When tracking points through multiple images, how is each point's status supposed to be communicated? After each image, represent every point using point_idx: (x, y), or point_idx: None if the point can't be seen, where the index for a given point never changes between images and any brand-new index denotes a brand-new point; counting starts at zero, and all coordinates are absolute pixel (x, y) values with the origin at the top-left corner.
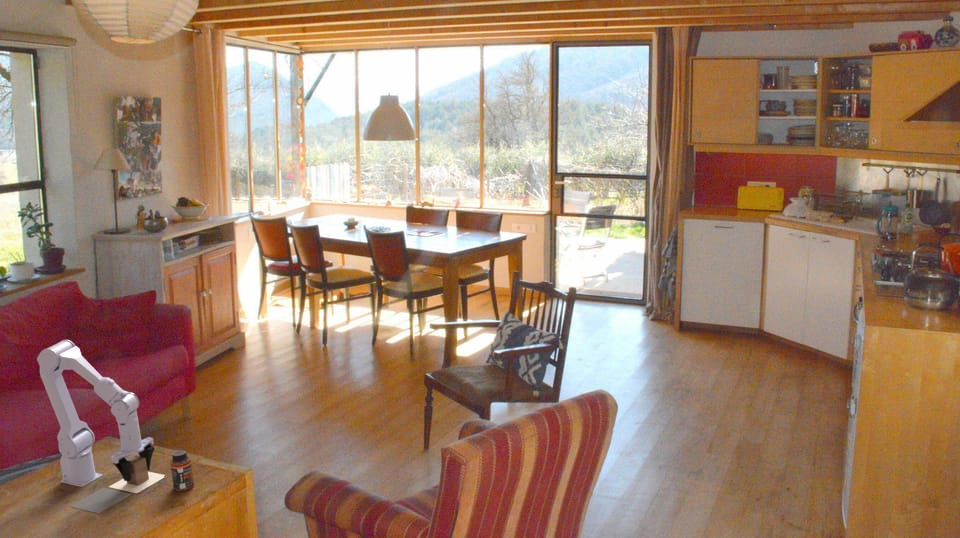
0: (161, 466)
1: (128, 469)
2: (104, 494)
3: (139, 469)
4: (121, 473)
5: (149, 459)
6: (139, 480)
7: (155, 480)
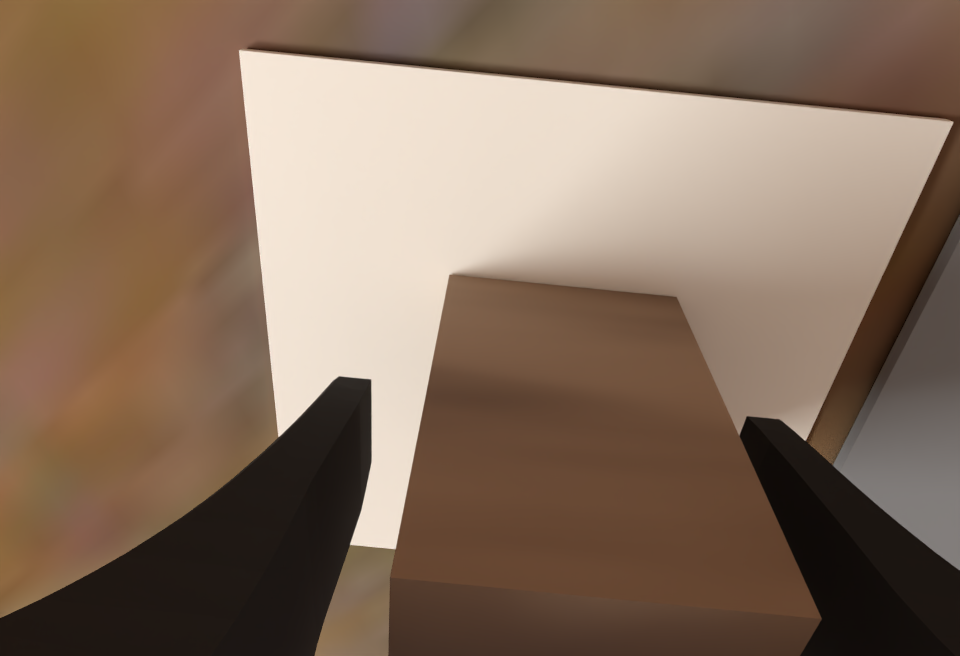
0: (80, 368)
1: (933, 587)
2: (949, 518)
3: (629, 442)
4: None
5: (269, 495)
6: (637, 323)
7: (460, 136)
